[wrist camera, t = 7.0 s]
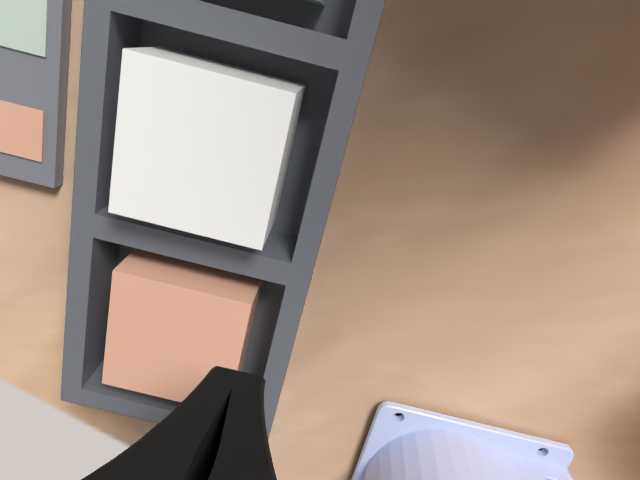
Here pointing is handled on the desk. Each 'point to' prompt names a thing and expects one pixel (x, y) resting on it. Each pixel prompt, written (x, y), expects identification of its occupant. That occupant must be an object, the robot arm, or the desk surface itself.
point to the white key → (201, 144)
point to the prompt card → (33, 89)
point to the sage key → (317, 2)
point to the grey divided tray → (127, 234)
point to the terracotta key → (175, 323)
